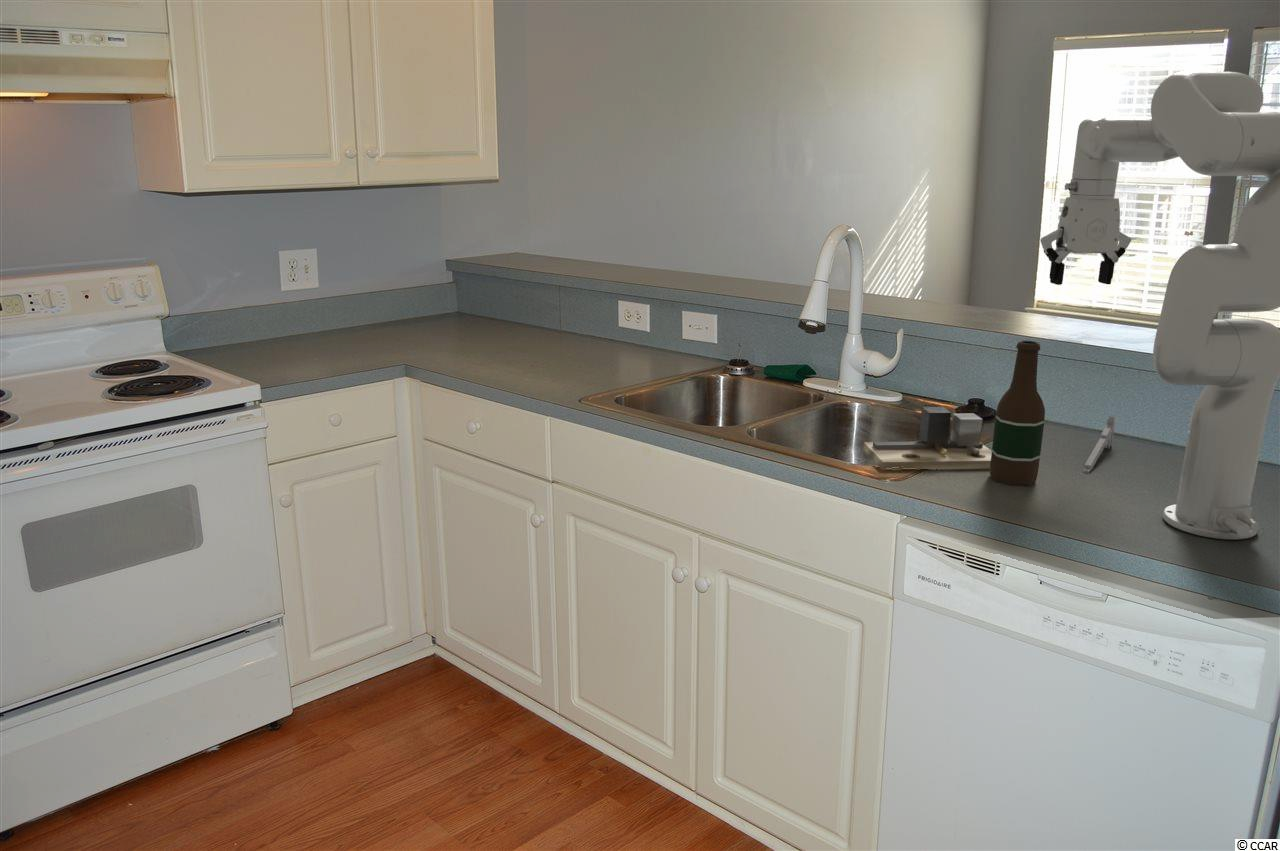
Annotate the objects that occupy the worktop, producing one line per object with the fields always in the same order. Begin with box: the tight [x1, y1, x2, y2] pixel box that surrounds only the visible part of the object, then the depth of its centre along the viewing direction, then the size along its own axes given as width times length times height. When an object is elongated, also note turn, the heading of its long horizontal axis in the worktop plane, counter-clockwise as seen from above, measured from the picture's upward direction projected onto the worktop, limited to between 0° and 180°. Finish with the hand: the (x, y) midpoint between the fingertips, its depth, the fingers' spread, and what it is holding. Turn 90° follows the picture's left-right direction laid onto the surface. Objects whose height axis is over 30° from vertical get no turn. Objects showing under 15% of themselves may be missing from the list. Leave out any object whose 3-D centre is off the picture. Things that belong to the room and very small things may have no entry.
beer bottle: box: [989, 340, 1046, 487], centre depth 169 cm, size 8×8×24 cm
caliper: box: [1082, 416, 1116, 474], centre depth 183 cm, size 20×1×6 cm, turn 145°
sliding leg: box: [918, 406, 952, 455], centre depth 182 cm, size 8×4×7 cm, turn 4°
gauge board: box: [862, 412, 992, 471], centre depth 182 cm, size 12×22×7 cm, turn 94°
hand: (1080, 283), depth 187 cm, fingers open, 9 cm apart
